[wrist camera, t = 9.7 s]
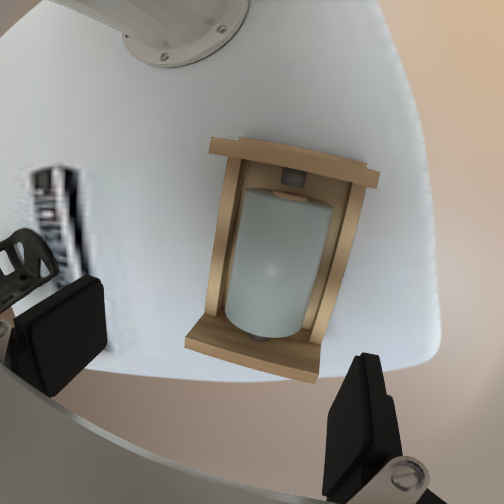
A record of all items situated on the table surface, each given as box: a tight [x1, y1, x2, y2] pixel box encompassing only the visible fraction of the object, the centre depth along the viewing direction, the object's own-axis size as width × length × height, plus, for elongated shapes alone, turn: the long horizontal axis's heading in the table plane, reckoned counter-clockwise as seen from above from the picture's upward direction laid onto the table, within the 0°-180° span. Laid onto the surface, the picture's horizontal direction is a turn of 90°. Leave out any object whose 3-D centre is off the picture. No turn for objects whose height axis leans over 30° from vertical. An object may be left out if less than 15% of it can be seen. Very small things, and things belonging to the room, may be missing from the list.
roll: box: [225, 188, 334, 338], centre depth 22 cm, size 10×6×6 cm, turn 170°
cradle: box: [184, 137, 380, 384], centre depth 22 cm, size 16×10×7 cm, turn 170°
